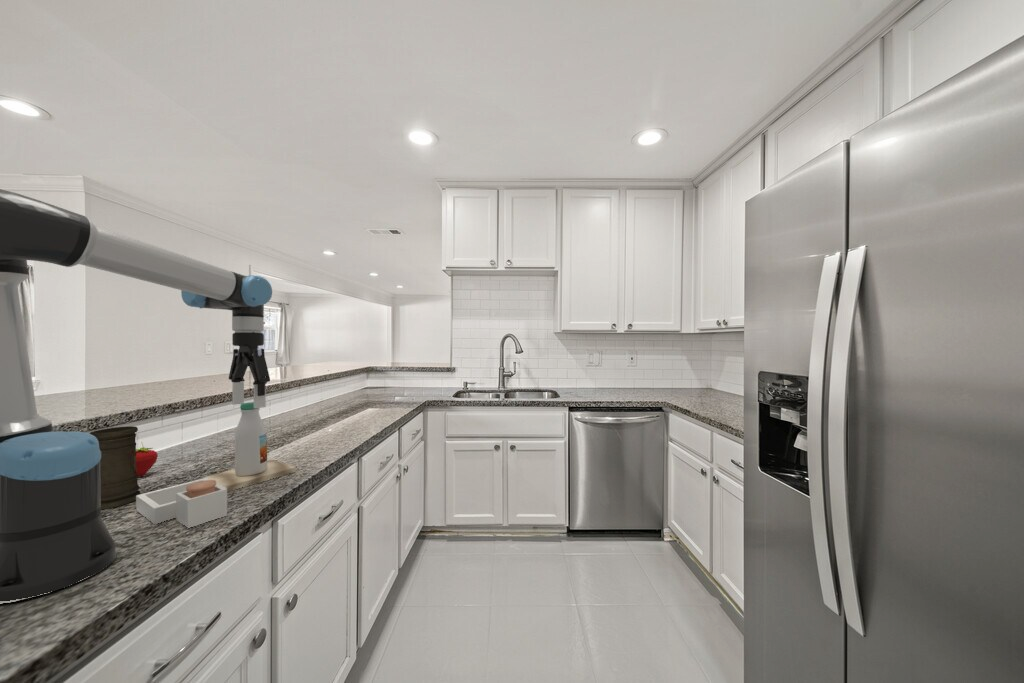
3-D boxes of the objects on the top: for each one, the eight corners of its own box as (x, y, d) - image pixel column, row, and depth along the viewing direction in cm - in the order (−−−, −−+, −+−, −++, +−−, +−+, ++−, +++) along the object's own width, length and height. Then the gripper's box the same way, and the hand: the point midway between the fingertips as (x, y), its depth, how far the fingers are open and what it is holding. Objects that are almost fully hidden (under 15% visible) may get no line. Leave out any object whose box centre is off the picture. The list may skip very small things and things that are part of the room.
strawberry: (123, 477, 114) (122, 443, 114) (158, 470, 119) (157, 438, 119) (122, 482, 109) (121, 447, 109) (158, 475, 114) (157, 442, 114)
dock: (168, 535, 78) (167, 506, 78) (136, 510, 90) (135, 484, 90) (243, 510, 89) (242, 484, 89) (205, 491, 101) (205, 468, 101)
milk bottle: (252, 477, 107) (250, 405, 107) (228, 476, 108) (226, 405, 108) (273, 468, 115) (272, 401, 115) (250, 467, 116) (249, 400, 116)
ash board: (225, 492, 100) (225, 486, 100) (204, 482, 108) (204, 477, 108) (295, 472, 115) (295, 467, 115) (272, 464, 123) (272, 459, 123)
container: (107, 511, 90) (105, 434, 90) (78, 508, 92) (76, 433, 92) (150, 495, 99) (149, 426, 99) (123, 493, 101) (121, 425, 101)
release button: (191, 516, 82) (191, 490, 82) (183, 511, 85) (182, 485, 85) (220, 507, 86) (220, 482, 86) (211, 502, 89) (210, 478, 89)
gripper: (283, 331, 108) (284, 407, 107) (243, 333, 122) (244, 401, 121) (253, 330, 101) (254, 411, 101) (215, 333, 115) (215, 404, 115)
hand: (248, 405), depth 111 cm, fingers open, 13 cm apart
